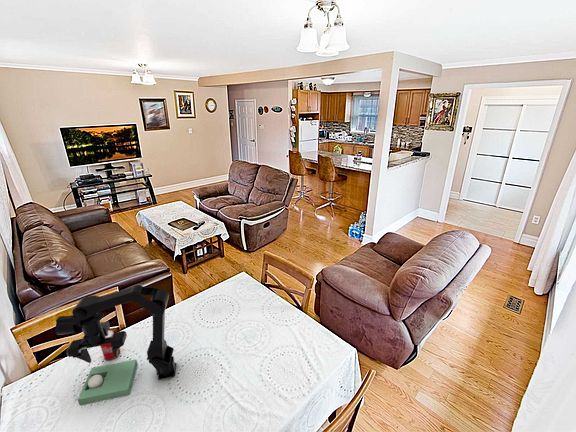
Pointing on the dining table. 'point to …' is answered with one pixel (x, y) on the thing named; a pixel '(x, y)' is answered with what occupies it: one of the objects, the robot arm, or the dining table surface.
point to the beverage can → (108, 348)
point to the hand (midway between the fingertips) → (103, 359)
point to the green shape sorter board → (110, 382)
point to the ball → (95, 381)
